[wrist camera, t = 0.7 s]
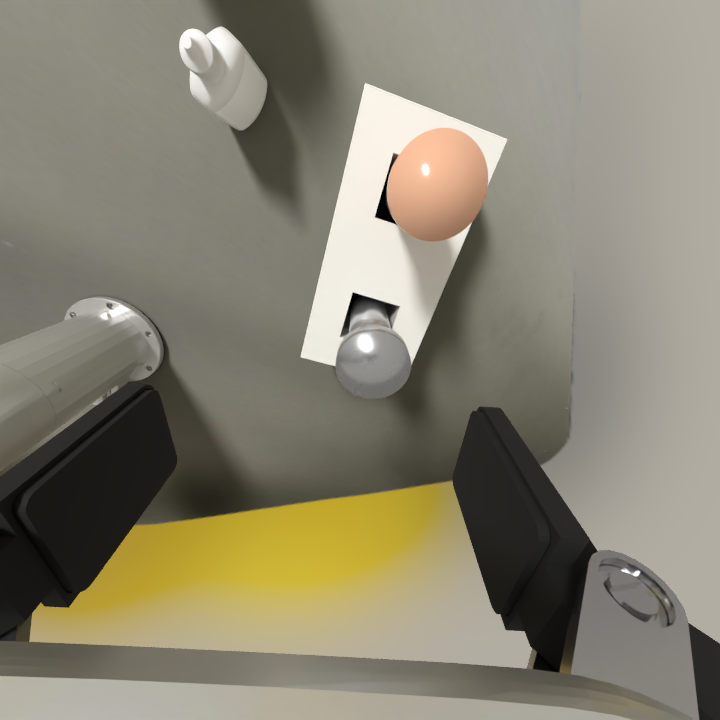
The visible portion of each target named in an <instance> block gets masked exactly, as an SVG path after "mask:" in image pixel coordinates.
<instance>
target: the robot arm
mask: <svg viewBox="0 0 720 720" xmlns="http://www.w3.org/2000/svg"><path fill="white" fill-rule="evenodd" d="M163 356H164V348H163V343H162V339H161V337H160V335H159V332H158V331H157V329H156V328H155V326H154V325H153V323H152V322H151V321H150V320H149V319H148V318H147V317H146V316H145V315H144V314H143V313H142V312H141V311H139V310H138V309H136V308H135V307H133V306H132V305H130V304H128V303H126V302H123V301H121V300H118V299H115V298H110V297H103V296H101V297H91V298H87V299H84V300H81V301H79V302H77V303H75V304H74V305H73V306H71V307H70V309H69V310H68V311H67V313H66V316H65V318H64V321H63V322H60V323H57V324H55V325H52V326H49V327H47V328H44V329H41V330H39V331H36V332H33V333H31V334H28V335H25V336H23V337H20V338H17V339H15V340H12V341H9V342H7V343H4V344H2V345H0V471H2V470H3V469H4V468H5V467H7V466H8V465H9V464H10V463H12V462H13V461H14V460H16V459H17V458H18V457H19V456H21V455H22V454H23V453H25V452H26V451H27V450H29V449H30V448H31V447H33V446H34V445H36V444H37V443H38V442H40V441H41V440H42V439H44V438H45V437H47V436H48V435H49V434H51V433H52V432H54V431H55V430H56V429H58V428H59V427H60V426H62V425H63V424H65V423H66V422H67V421H69V420H70V419H71V418H73V417H74V416H76V415H77V414H78V413H80V412H81V411H82V410H84V409H85V408H87V407H88V406H89V405H91V404H93V405H97V406H95V407H94V408H93V409H91V410H90V411H89V412H87V413H86V414H85V415H83V416H82V417H81V418H79V419H78V420H76V421H75V422H74V423H72V424H71V425H70V426H68V427H67V428H66V429H64V430H63V431H62V432H60V433H59V434H57V435H56V436H55V437H53V438H52V439H51V440H49V441H48V442H47V443H45V444H44V445H43V446H41V447H40V448H39V449H37V450H36V451H34V452H33V453H32V454H30V455H29V456H28V457H26V458H25V459H24V460H22V461H21V462H20V463H18V464H17V465H16V466H14V467H13V468H11V469H10V470H9V471H7V472H6V473H5V474H3V475H2V476H1V477H0V720H720V644H719V643H718V642H716V641H715V640H713V639H712V638H710V637H709V636H707V635H706V634H704V633H702V632H701V631H700V630H698V629H697V628H695V627H694V626H692V625H691V624H689V623H688V620H687V617H686V613H685V610H684V608H683V606H682V605H681V603H680V601H679V600H678V598H677V597H676V595H675V594H674V592H673V591H672V590H671V589H670V588H669V587H668V586H667V584H666V583H665V582H664V581H663V580H662V579H661V578H659V577H658V576H657V575H656V574H655V573H654V572H653V571H651V570H650V569H649V568H647V567H646V566H644V565H643V564H641V563H640V562H638V561H637V560H635V559H632V558H631V557H629V556H627V555H624V554H622V553H619V552H615V551H611V550H601V551H597V550H596V548H595V547H594V545H593V544H592V542H591V541H590V539H589V537H588V536H587V534H586V533H585V531H584V530H583V528H582V527H581V525H580V524H579V523H578V521H577V520H576V518H575V517H574V515H573V514H572V512H571V511H570V509H569V508H568V506H567V505H566V503H565V502H564V500H563V499H562V497H561V496H560V494H559V493H558V492H557V490H556V489H555V487H554V486H553V484H552V483H551V482H550V480H549V478H548V477H547V475H546V474H545V472H544V471H543V470H542V468H541V466H540V465H539V464H538V462H537V461H536V459H535V458H534V456H533V455H532V453H531V452H530V450H529V449H528V447H527V446H526V444H525V443H524V441H523V440H522V438H521V437H520V436H519V434H518V433H517V431H516V430H515V428H514V427H513V425H512V424H511V422H510V421H509V419H508V418H507V416H506V415H505V413H504V412H503V411H502V409H501V408H494V407H479V408H478V409H477V411H473V412H472V413H471V415H470V419H469V422H468V426H467V429H466V432H465V436H464V439H463V443H462V446H461V450H460V453H459V456H458V460H457V463H456V467H455V470H454V474H453V486H454V489H455V492H456V496H457V499H458V502H459V505H460V508H461V511H462V514H463V517H464V521H465V524H466V527H467V530H468V533H469V536H470V540H471V543H472V546H473V549H474V552H475V555H476V558H477V562H478V564H479V568H480V571H481V574H482V577H483V580H484V583H485V587H486V590H487V593H488V596H489V599H490V602H491V605H492V608H493V610H494V611H495V613H497V614H501V617H502V620H503V623H504V626H505V629H506V630H514V631H525V633H526V636H527V638H528V641H529V644H530V646H531V647H532V651H531V655H530V659H529V663H528V666H527V669H522V668H510V667H497V666H482V665H470V664H458V663H442V662H425V661H405V660H388V659H371V658H370V659H369V658H352V657H334V656H315V655H296V654H276V653H256V652H237V651H215V650H195V649H175V648H154V647H153V648H152V647H132V646H109V645H86V644H64V643H41V642H29V637H30V627H31V618H32V612H33V611H34V610H35V609H36V607H37V606H38V605H39V604H40V603H42V604H43V605H44V606H50V607H69V606H70V605H71V604H72V602H73V601H74V599H75V598H76V597H77V595H78V594H79V593H80V592H82V591H84V590H86V589H87V588H88V587H89V586H90V585H91V583H92V582H93V581H94V580H95V578H96V577H97V575H98V574H99V573H100V571H101V570H102V569H103V567H104V566H105V564H106V563H107V562H108V560H109V559H110V558H111V556H112V555H113V553H114V552H115V551H116V549H117V548H118V546H119V545H120V543H121V542H122V541H123V540H124V538H125V537H126V535H127V534H128V533H129V531H130V530H131V529H132V527H133V526H134V525H135V523H136V522H137V520H138V519H139V518H140V516H141V515H142V514H143V512H144V511H145V509H146V508H147V507H148V505H149V504H150V503H151V501H152V500H153V498H154V497H155V496H156V494H157V493H158V492H159V490H160V489H161V487H162V486H163V485H164V483H165V482H166V480H167V479H168V478H169V476H170V475H171V474H172V472H173V471H174V469H175V467H176V464H177V455H176V452H175V448H174V445H173V441H172V437H171V434H170V430H169V427H168V423H167V419H166V416H165V412H164V409H163V405H162V401H161V398H160V395H159V392H158V391H156V390H154V388H153V387H152V386H150V385H144V384H127V383H128V382H131V381H138V380H142V379H144V378H147V377H149V376H150V375H151V374H153V373H154V372H155V371H156V370H157V369H158V368H159V366H160V364H161V363H162V360H163ZM125 384H126V385H125ZM110 390H111V391H110ZM109 391H110V396H109V397H108V398H107V392H109Z"/></svg>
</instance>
